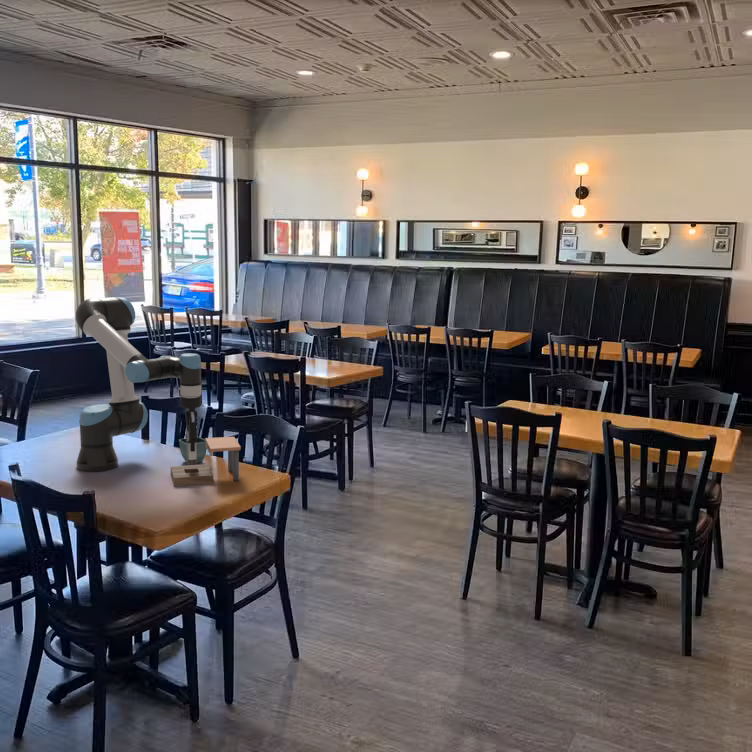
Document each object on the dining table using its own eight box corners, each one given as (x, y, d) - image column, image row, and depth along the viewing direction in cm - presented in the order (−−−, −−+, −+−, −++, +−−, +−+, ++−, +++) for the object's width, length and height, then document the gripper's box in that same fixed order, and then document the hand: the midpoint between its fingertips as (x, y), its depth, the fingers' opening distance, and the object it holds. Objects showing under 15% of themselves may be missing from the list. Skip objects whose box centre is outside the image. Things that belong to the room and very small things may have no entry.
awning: (205, 471, 293) (205, 438, 290) (233, 469, 296) (234, 436, 294) (210, 483, 279) (210, 448, 277) (240, 481, 283) (240, 446, 280)
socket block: (170, 474, 288) (170, 466, 287) (208, 471, 293) (208, 464, 292) (174, 485, 275) (173, 477, 274) (213, 482, 280) (213, 475, 279)
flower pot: (187, 466, 298) (186, 444, 297) (178, 460, 305) (178, 439, 304) (208, 463, 303) (207, 441, 302) (199, 457, 310) (198, 436, 309)
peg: (186, 461, 284) (185, 430, 282) (196, 461, 285) (195, 430, 283) (187, 464, 280) (186, 432, 278) (197, 463, 282) (196, 432, 279)
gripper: (178, 392, 285) (179, 452, 289) (182, 401, 269) (183, 464, 273) (198, 391, 287) (199, 451, 291) (204, 400, 272) (205, 463, 276)
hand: (191, 457), depth 282 cm, fingers closed on peg, 3 cm apart
